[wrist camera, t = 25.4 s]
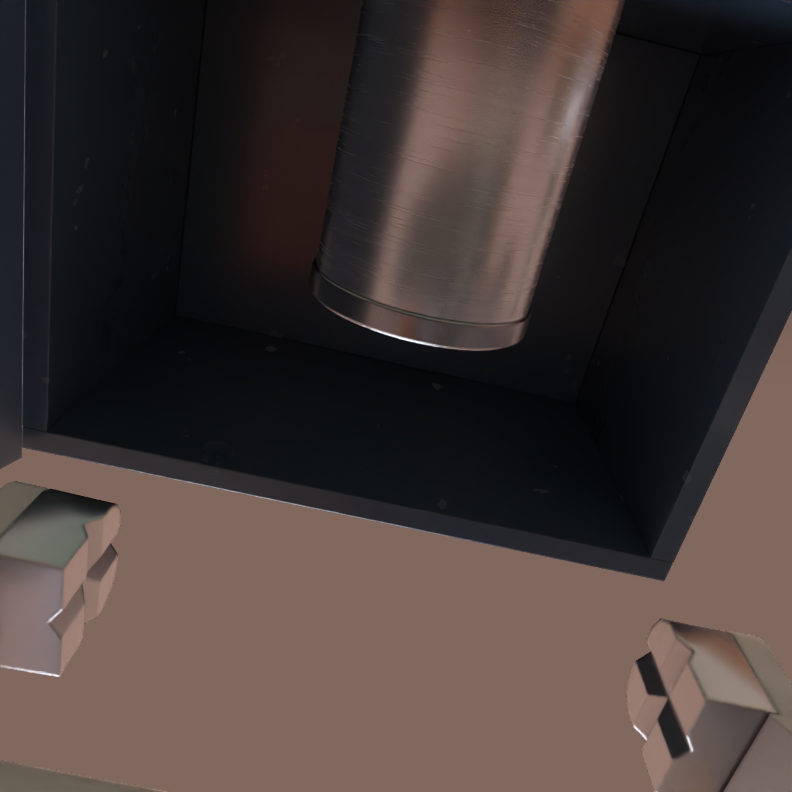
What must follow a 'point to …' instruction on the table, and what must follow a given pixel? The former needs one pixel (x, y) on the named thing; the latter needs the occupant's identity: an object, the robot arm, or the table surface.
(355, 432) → the cupboard
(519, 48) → the steel tumbler
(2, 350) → the cupboard door
